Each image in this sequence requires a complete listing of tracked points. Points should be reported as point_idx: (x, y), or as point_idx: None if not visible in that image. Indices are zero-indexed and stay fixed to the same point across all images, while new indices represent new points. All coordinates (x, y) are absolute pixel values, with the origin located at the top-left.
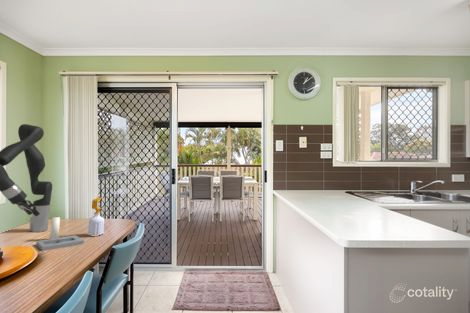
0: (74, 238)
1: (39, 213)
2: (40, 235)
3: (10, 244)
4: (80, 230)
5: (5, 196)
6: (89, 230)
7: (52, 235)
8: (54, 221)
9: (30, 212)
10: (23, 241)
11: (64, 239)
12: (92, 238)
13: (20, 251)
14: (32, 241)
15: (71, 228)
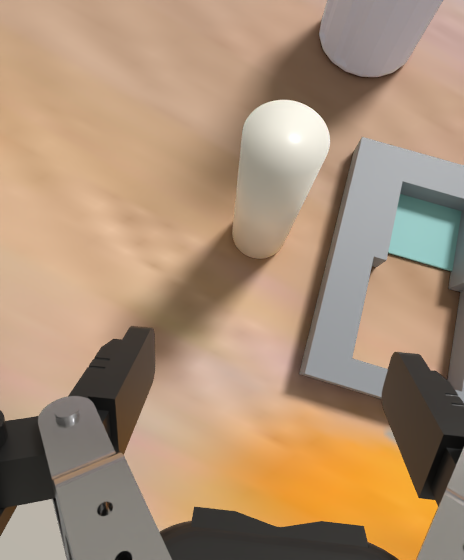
0: (434, 188)
1: (417, 356)
2: (76, 227)
3: (144, 478)
4: (176, 19)
5: None
6: (382, 45)
7: (278, 242)
8: (311, 183)
9: (145, 364)
10: None
11: (390, 230)
12: (427, 96)
13: (386, 525)
14: (192, 344)
15: (72, 17)
